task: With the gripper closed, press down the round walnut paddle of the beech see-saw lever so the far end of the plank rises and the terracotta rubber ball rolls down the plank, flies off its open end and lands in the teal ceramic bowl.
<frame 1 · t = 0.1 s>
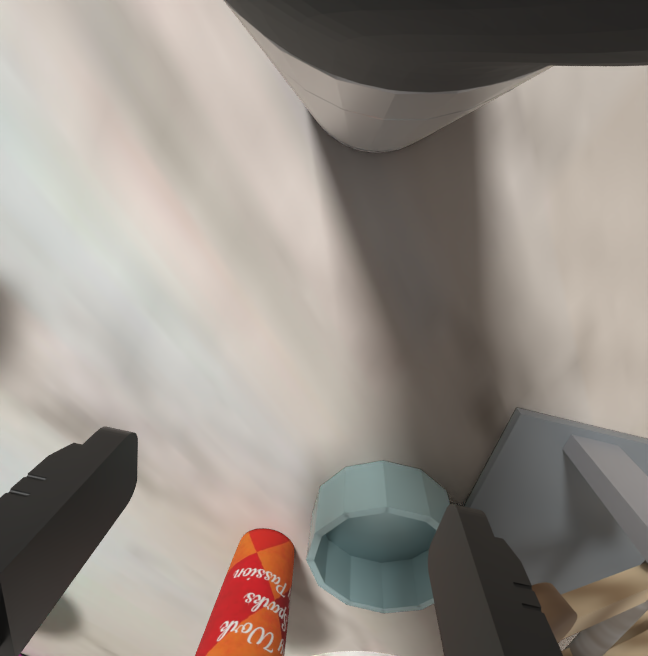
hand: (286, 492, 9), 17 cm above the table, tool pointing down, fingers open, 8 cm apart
bowl: (381, 514, 33), on the table
paper cup: (267, 545, 36), on the table
lever: (636, 643, 22), point 9 cm above the table, hinge at 25.1°, touching ball
stand: (514, 545, 33), on the table
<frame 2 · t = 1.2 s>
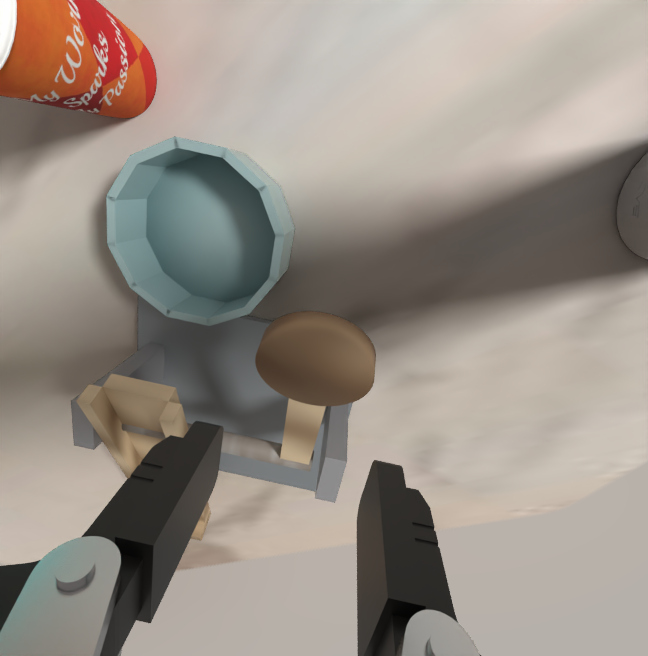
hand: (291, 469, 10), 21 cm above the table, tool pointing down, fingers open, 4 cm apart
bowl: (217, 232, 29), on the table
paper cup: (121, 73, 26), on the table
lever: (220, 465, 25), point 9 cm above the table, hinge at 25.1°, touching ball
stand: (205, 367, 34), on the table
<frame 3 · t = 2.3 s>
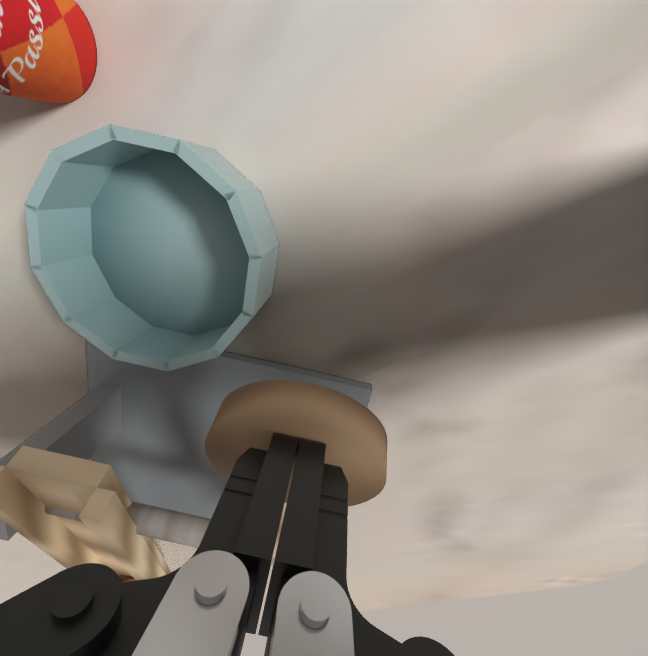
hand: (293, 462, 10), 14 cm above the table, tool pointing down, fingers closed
bowl: (182, 249, 23), on the table
paper cup: (51, 45, 20), on the table
lever: (177, 560, 19), point 10 cm above the table, hinge at 22.2°, touching ball, gripper
stand: (172, 411, 28), on the table
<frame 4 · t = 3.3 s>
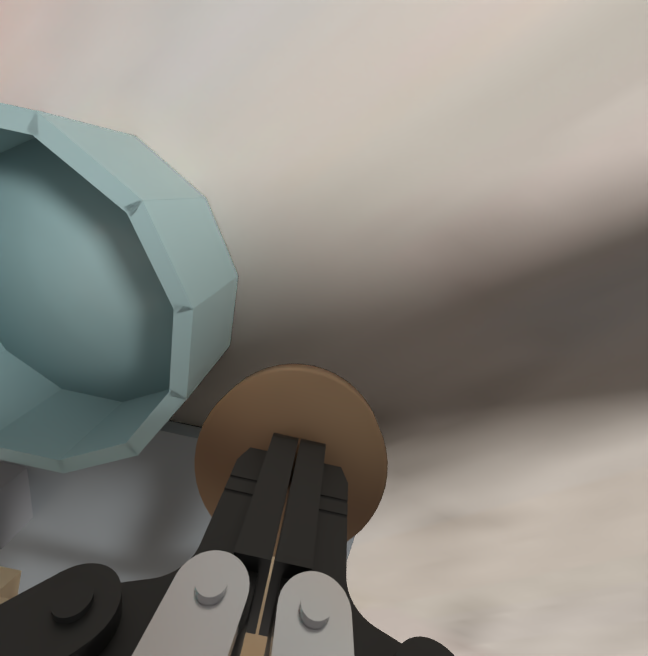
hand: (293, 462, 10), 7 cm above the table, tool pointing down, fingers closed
bowl: (97, 281, 16), on the table
stand: (103, 495, 20), on the table
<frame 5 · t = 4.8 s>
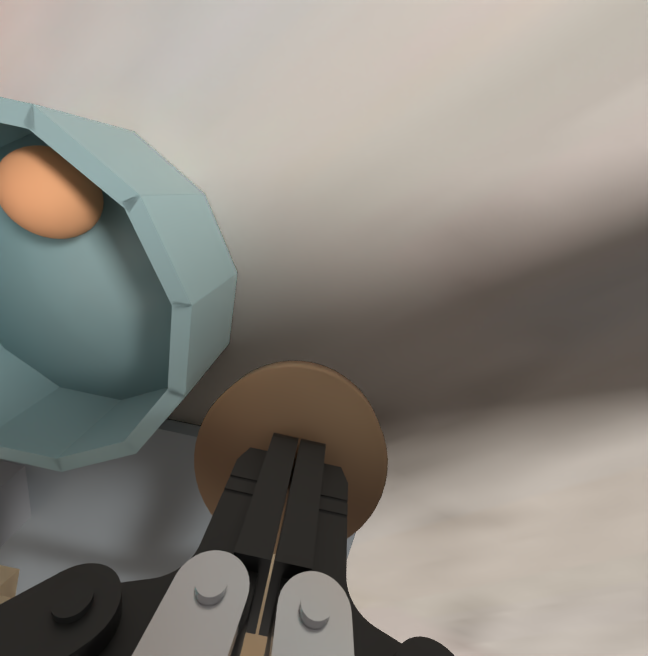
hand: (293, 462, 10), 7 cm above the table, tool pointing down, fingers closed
bowl: (95, 279, 16), on the table
stand: (101, 494, 20), on the table
ball: (52, 194, 12), point 2 cm above the table, tilted 139°, touching bowl
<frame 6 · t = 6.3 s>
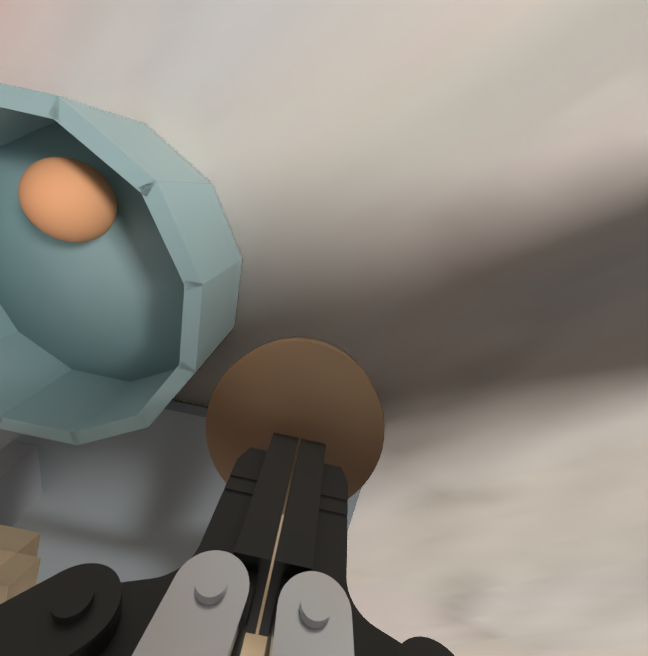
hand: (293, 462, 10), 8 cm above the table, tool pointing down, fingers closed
bowl: (107, 265, 16), on the table
stand: (110, 474, 21), on the table
ball: (70, 201, 13), point 2 cm above the table, tilted 114°, touching bowl
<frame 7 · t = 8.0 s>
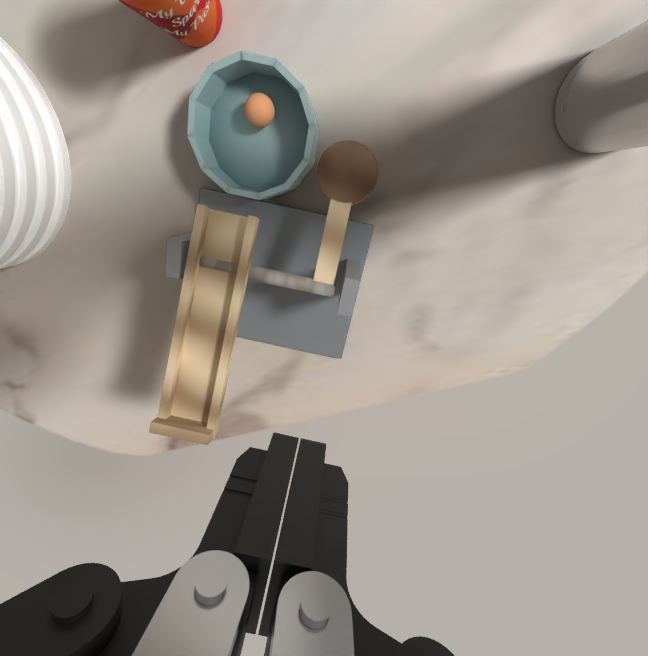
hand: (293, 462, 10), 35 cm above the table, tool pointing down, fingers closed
bowl: (261, 136, 39), on the table
paper cup: (196, 13, 36), on the table
lever: (267, 290, 34), point 10 cm above the table, hinge at -17.0°
stand: (247, 251, 44), on the table
ball: (259, 110, 36), point 2 cm above the table, tilted 85°, touching bowl
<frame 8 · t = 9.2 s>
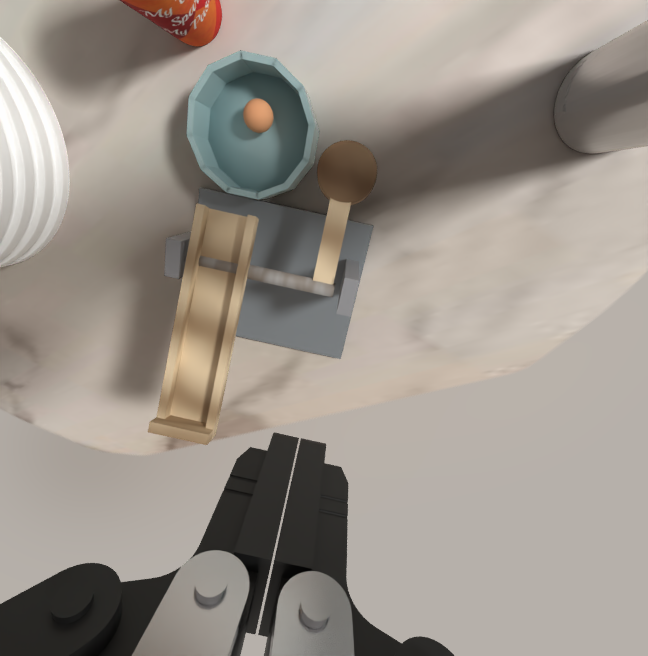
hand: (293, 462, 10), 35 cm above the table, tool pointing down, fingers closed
bowl: (261, 136, 39), on the table
paper cup: (195, 12, 36), on the table
lever: (266, 290, 34), point 10 cm above the table, hinge at -17.0°
stand: (247, 250, 44), on the table
ball: (258, 116, 36), point 2 cm above the table, tilted 64°, touching bowl
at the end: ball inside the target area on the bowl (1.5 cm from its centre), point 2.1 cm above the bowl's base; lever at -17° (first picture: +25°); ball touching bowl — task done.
